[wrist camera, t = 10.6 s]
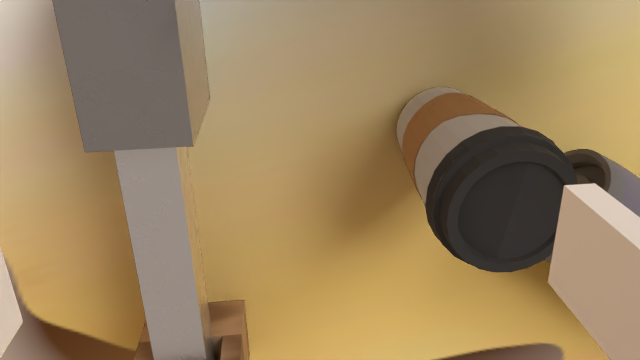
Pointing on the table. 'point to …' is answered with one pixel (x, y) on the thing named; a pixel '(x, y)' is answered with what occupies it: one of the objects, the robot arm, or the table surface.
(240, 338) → the socket
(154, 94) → the grey rectangular block
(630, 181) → the bluetooth speaker
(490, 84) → the table surface
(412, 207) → the table surface
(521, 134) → the coffee cup
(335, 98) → the table surface
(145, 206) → the orange-tipped grey stick
